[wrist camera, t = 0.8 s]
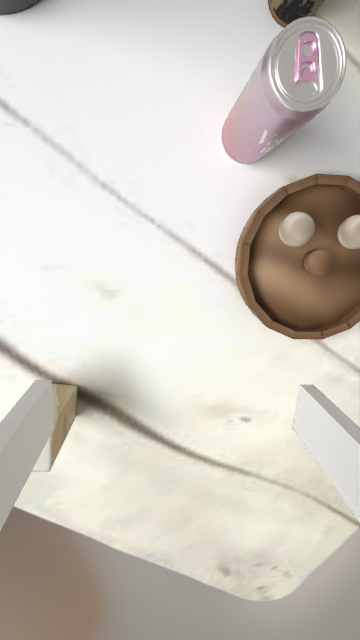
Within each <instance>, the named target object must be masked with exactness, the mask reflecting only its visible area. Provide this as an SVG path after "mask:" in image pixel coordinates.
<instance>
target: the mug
mask: <svg viewBox="0 0 360 640" xmlns="http://www.w3.org/2000/svg"><path fill="white" fill-rule="evenodd" d="M324 1H325V0H268V4H269V9H270V12H271V14H272V17H273V18H274V19H275V21H276V22H277V23H278V24H279V25H281V26H282V27H286V26H287V25H289V24H290V23H291V22H293V21H295V20H297V19H299V18H303V17H309V16H313V14H314V13H315V12H316V10H317V9H318V8H319V7H320V6H321V5H322V3H323V2H324Z"/></svg>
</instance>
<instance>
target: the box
mask: <svg viewBox="0 0 360 640" xmlns="http://www.w3.org/2000/svg"><path fill="white" fill-rule="evenodd" d="M52 396H53V415H54V429H53V431H52V433H51V435H50V437H49V439H48V441H47V443H46V444H45V446H44V448H43V450H42V452H41V454H40V456H39V458H38V460H37V462H36V464H35V465H34V467H33V469H32V471H31V472H49V471H50V470H51V468H52V466H53V463H54V461H55V459H56V457H57V455H58V453H59V451H60V449H61V447H62V445H63V443H64V440H65V438H66V436H67V434H68V432H69V430H70V428H71V426H72V424H73V422H74V420H75V417H76V408H77V386H76V385H67V384H53V383H52Z"/></svg>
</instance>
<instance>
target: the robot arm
mask: <svg viewBox="0 0 360 640" xmlns="http://www.w3.org/2000/svg"><path fill="white" fill-rule="evenodd" d="M38 1H39V0H0V14H7V13H14V12H18V11H21V10H24V9H26V8H28V7H30V6H32V5H33V4H35V3H36V2H38ZM53 429H54V415H53V396H52V380H35V382H34V383H33V384H32V385H31V386H30V388H29V389H28V390H27V391H26V392H25V394H24V395H23V396H22V397H21V399H20V400H19V401H18V402H17V403H16V405H15V406H14V407H13V408H12V409H11V411H10V412H9V413H8V414H7V415H6V417H5V418H4V419H3V420H2V422H1V423H0V531H1V529H2V527H3V525H4V523H5V521H6V519H7V517H8V515H9V513H10V511H11V509H12V508H13V506H14V504H15V502H16V500H17V498H18V496H19V494H20V492H21V490H22V488H23V487H24V485H25V483H26V481H27V479H28V477H29V475H30V473H31V471H32V469H33V467H34V465H35V464H36V462H37V460H38V458H39V456H40V454H41V452H42V450H43V448H44V446H45V444H46V443H47V441H48V439H49V437H50V435H51V433H52V431H53ZM292 429H293V430H294V432H295V433H296V435H297V436H298V437H299V439H300V440H301V441H302V443H303V444H304V446H305V447H306V448H307V450H308V451H309V453H310V454H311V455H312V457H313V458H314V460H315V461H316V462H317V464H318V465H319V466H320V468H321V469H322V471H323V472H324V473H325V475H326V476H327V478H328V479H329V480H330V482H331V483H332V484H333V486H334V487H335V489H336V490H337V491H338V493H339V494H340V496H341V497H342V498H343V500H344V501H345V503H346V504H347V505H348V507H349V508H350V509H351V511H352V512H353V514H354V515H355V516H356V518H357V519H358V521H359V522H360V428H359V427H358V426H357V425H356V424H355V423H354V422H353V421H352V420H351V419H350V418H349V417H348V416H346V415H345V414H344V413H343V412H342V411H341V410H340V409H339V408H338V407H337V406H336V405H335V404H334V403H332V402H331V401H330V400H329V399H328V398H327V397H326V396H325V395H324V394H323V393H322V392H321V391H319V390H318V389H317V388H316V387H315V386H314V385H300V388H299V393H298V399H297V404H296V410H295V415H294V420H293V426H292Z"/></svg>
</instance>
